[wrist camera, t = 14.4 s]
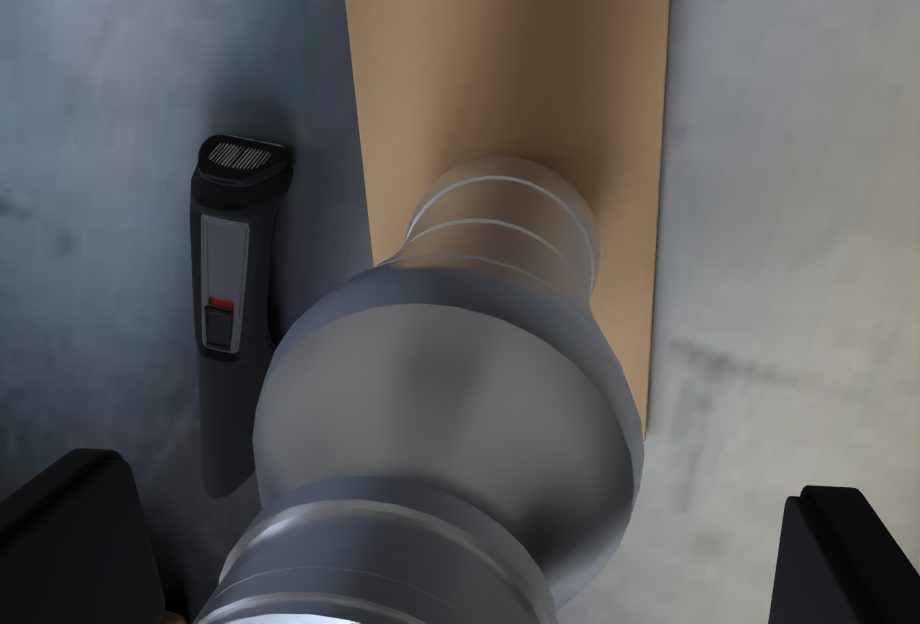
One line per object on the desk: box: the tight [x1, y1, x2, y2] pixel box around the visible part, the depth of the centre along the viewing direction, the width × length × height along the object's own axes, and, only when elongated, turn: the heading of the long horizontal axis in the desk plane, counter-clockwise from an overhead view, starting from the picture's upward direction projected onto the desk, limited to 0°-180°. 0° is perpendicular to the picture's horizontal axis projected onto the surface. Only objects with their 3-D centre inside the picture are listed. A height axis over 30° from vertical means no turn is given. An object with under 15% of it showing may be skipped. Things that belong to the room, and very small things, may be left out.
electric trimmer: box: [190, 135, 293, 499], centre depth 27 cm, size 4×16×3 cm, turn 170°
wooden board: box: [345, 0, 670, 441], centre depth 25 cm, size 11×18×1 cm, turn 3°
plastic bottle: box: [192, 156, 644, 624], centre depth 15 cm, size 6×7×20 cm
